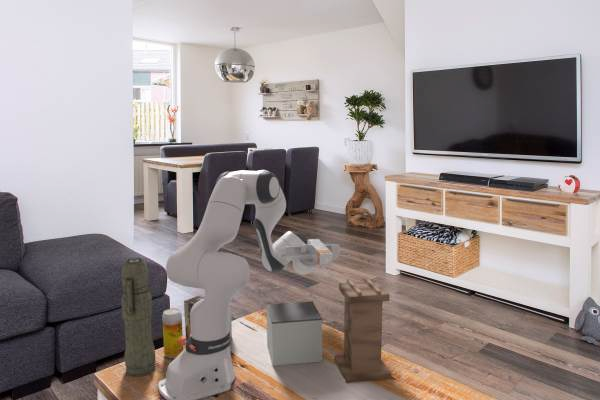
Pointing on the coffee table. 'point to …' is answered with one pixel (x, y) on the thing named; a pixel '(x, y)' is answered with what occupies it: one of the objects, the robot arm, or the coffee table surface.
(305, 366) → the coffee table surface
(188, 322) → the coffee box
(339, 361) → the stand
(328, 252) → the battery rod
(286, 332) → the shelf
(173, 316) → the beer can
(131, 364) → the thermos
